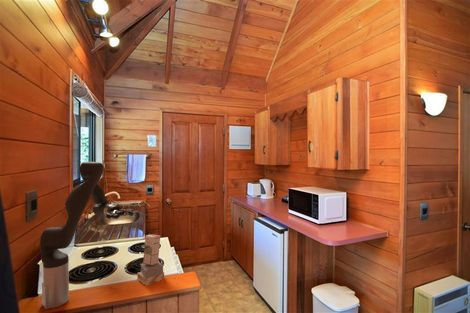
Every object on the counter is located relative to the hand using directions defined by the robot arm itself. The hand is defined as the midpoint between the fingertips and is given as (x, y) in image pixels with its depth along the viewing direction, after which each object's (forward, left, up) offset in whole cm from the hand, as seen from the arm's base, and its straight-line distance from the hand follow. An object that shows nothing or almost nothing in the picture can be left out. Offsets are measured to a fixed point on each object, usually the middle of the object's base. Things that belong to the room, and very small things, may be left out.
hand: (125, 215), depth 137 cm
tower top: (+6, -18, -29) cm, 34 cm away
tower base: (+5, -17, -33) cm, 37 cm away
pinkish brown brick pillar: (+6, -16, -24) cm, 30 cm away
